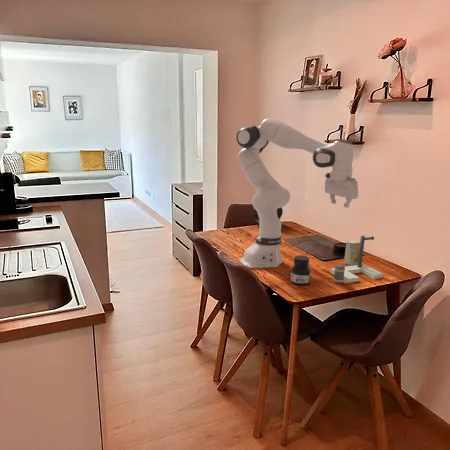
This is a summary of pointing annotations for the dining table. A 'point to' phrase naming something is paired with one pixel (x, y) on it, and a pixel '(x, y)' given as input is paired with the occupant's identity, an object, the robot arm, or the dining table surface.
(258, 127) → the robot arm
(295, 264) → the ink bottle
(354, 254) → the skincare box
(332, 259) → the dining table surface
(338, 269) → the grey banded cylinder
